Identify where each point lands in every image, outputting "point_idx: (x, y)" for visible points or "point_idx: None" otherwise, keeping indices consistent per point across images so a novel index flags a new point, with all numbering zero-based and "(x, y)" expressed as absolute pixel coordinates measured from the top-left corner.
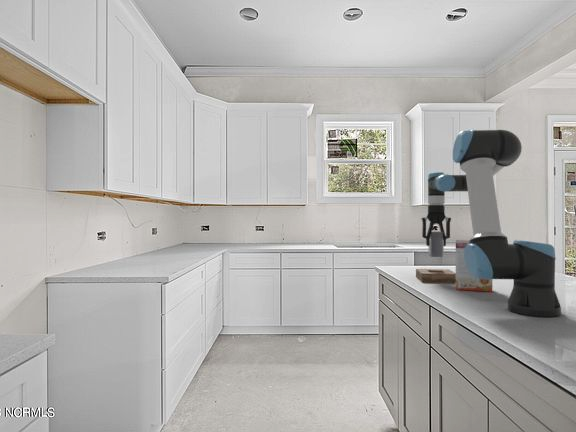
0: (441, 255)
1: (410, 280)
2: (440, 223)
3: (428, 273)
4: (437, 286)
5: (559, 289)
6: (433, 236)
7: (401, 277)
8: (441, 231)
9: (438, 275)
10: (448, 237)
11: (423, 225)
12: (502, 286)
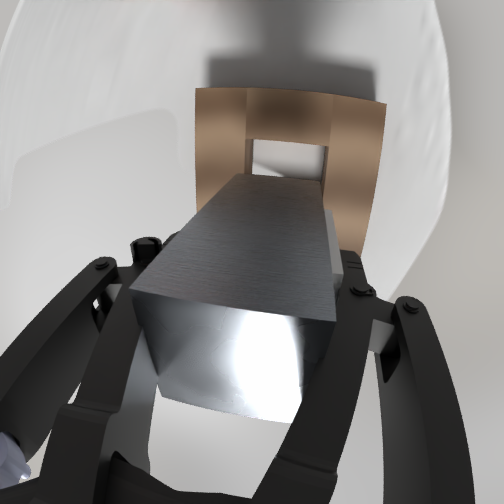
0: (241, 176)
1: (411, 155)
2: (86, 450)
3: (349, 107)
4: (329, 5)
5: (2, 76)
6: (303, 264)
7: (419, 234)
8: (144, 337)
9: (298, 90)
10: (107, 259)
11: (467, 453)
12: (82, 62)
